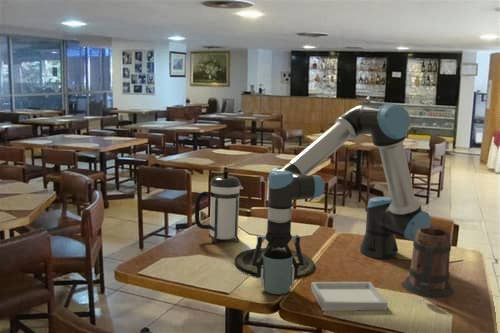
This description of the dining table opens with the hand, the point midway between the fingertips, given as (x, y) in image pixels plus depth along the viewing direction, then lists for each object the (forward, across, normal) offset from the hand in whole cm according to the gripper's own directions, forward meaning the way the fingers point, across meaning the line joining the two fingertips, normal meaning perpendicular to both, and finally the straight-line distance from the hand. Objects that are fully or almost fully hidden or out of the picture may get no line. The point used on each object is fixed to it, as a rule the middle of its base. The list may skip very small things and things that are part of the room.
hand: (276, 285), depth 163 cm
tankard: (+2, -51, +1) cm, 51 cm away
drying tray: (+2, -22, +7) cm, 23 cm away
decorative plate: (+2, -3, -24) cm, 24 cm away
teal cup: (+1, 0, 0) cm, 1 cm away
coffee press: (+2, +16, -53) cm, 55 cm away
